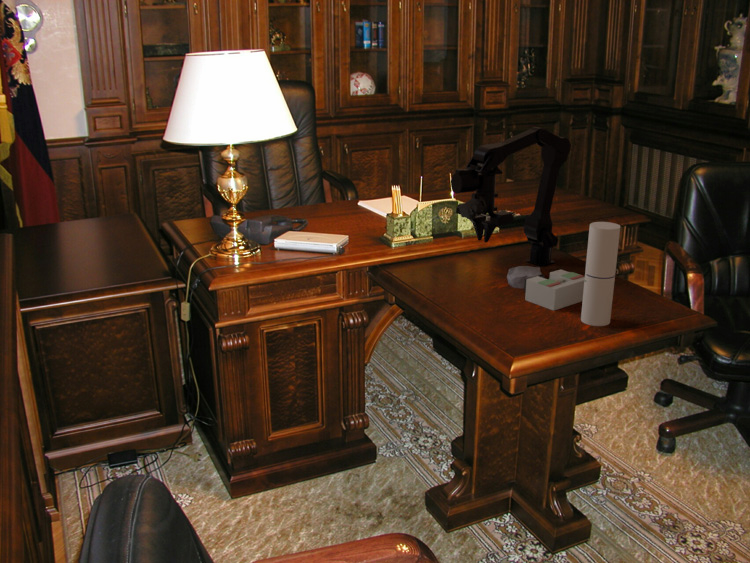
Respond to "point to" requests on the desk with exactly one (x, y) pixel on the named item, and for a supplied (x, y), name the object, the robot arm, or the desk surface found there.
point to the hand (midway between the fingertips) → (482, 241)
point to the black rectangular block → (543, 277)
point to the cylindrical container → (600, 273)
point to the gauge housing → (555, 290)
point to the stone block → (521, 275)
